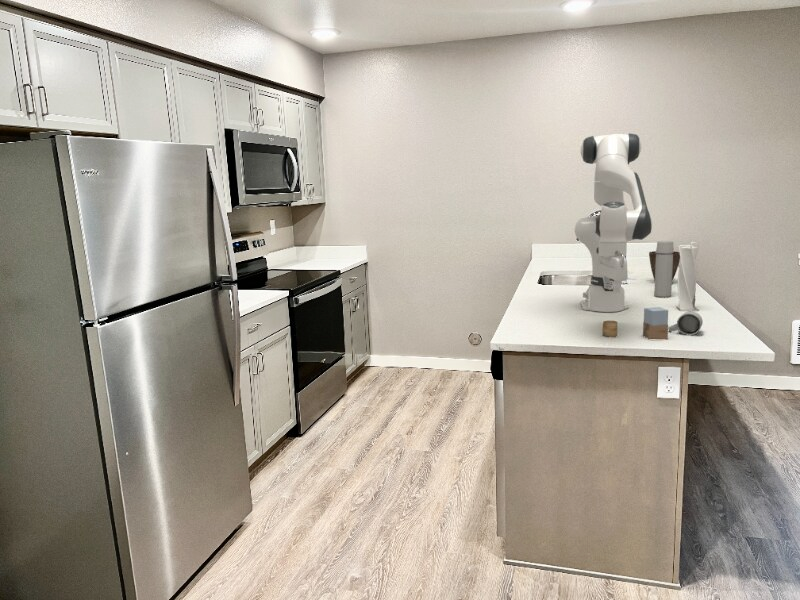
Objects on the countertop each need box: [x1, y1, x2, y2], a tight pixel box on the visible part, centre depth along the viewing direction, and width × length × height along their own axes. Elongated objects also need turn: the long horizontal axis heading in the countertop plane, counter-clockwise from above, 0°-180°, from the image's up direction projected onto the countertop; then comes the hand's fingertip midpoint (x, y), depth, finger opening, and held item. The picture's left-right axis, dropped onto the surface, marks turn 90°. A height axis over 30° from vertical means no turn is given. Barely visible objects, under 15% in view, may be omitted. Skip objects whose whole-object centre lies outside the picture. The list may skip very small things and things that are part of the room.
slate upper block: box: [643, 306, 669, 326], centre depth 203 cm, size 6×6×5 cm
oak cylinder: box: [602, 319, 618, 338], centre depth 208 cm, size 5×5×5 cm
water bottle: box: [653, 240, 675, 299], centre depth 271 cm, size 9×8×25 cm
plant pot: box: [648, 250, 681, 282], centre depth 304 cm, size 15×15×16 cm
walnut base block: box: [642, 321, 669, 340], centre depth 204 cm, size 6×6×5 cm
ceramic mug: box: [668, 311, 704, 336], centre depth 208 cm, size 11×8×8 cm
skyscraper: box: [676, 241, 700, 311], centre depth 242 cm, size 8×8×28 cm
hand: (611, 290), depth 205 cm, fingers open, 8 cm apart
